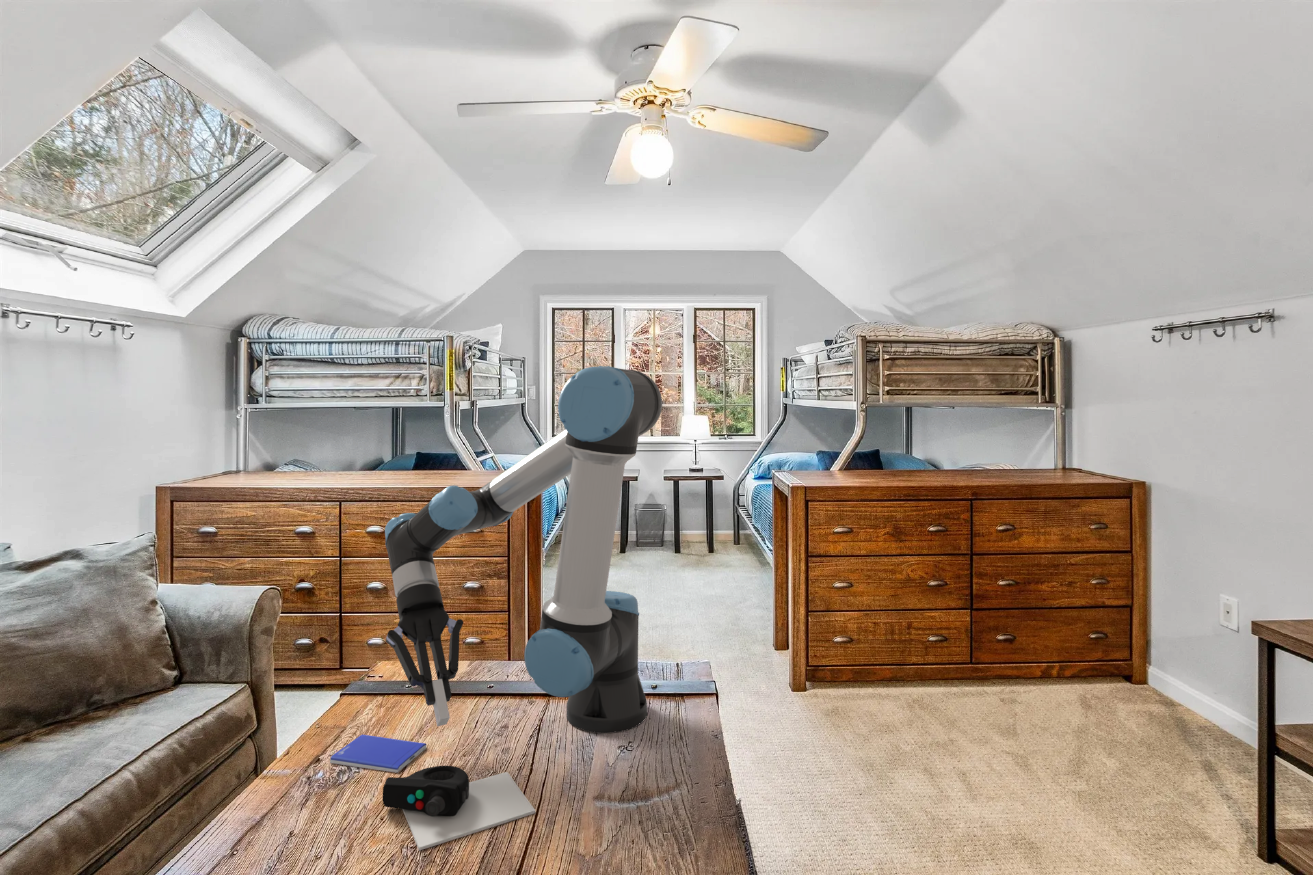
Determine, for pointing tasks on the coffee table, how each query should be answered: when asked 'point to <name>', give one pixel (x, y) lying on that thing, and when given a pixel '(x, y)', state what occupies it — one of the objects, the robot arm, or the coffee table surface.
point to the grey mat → (472, 812)
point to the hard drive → (378, 753)
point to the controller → (428, 791)
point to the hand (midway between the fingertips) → (443, 721)
